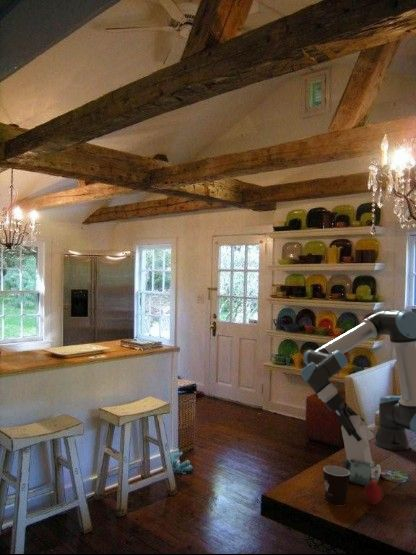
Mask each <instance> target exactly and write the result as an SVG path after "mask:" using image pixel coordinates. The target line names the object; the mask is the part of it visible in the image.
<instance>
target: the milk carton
mask: <svg viewBox="0 0 416 555" xmlns="http://www.w3.org/2000/svg"><path fill="white" fill-rule="evenodd" d="M360 417H361V415H359V414H358V415H356V416H350V417H349V418H350V420H351V422H352V424H353V426H354V427H355V429H356V431H358V432H359V433H360V434H361V435H362V436H363V438H364V439H365V440H366V441H367V442H368V444H369V445H370V443H369V439H368V438H367V433H366V428H365V425H366V423H365V421H364V422H363V421H362V420H361V418H362V417H361V418H360ZM340 429H341V433H342V434H341V435H342V439H343V444H344V449H345V455H346V459H347V460H349V462H351V458H352V459H357V460H362V461H367V462H371V465H373V462H374V461H373V457H372V453H371V449H370V448H371V447H370V446H369V447H367V448H366V449H365V450H364V449H363V448H362V447H361V446H360V445H359V443H358V442H357V441H356V440H355V439H354V437H353V436H352V435H351V436H349V435H348V433H347V432H346V430H345V428H344V427H343V425H342V424H341V427H340ZM372 461H373V462H372Z"/></svg>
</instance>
